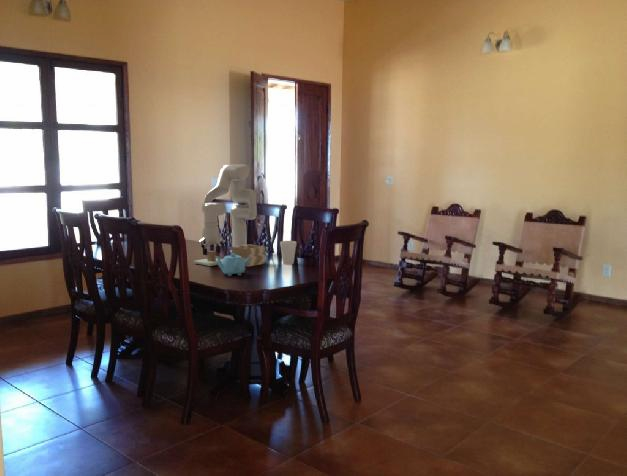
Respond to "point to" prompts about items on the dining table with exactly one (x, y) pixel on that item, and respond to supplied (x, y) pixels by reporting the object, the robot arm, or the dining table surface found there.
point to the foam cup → (288, 251)
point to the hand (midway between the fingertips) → (211, 253)
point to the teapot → (232, 264)
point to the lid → (209, 259)
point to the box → (251, 253)
